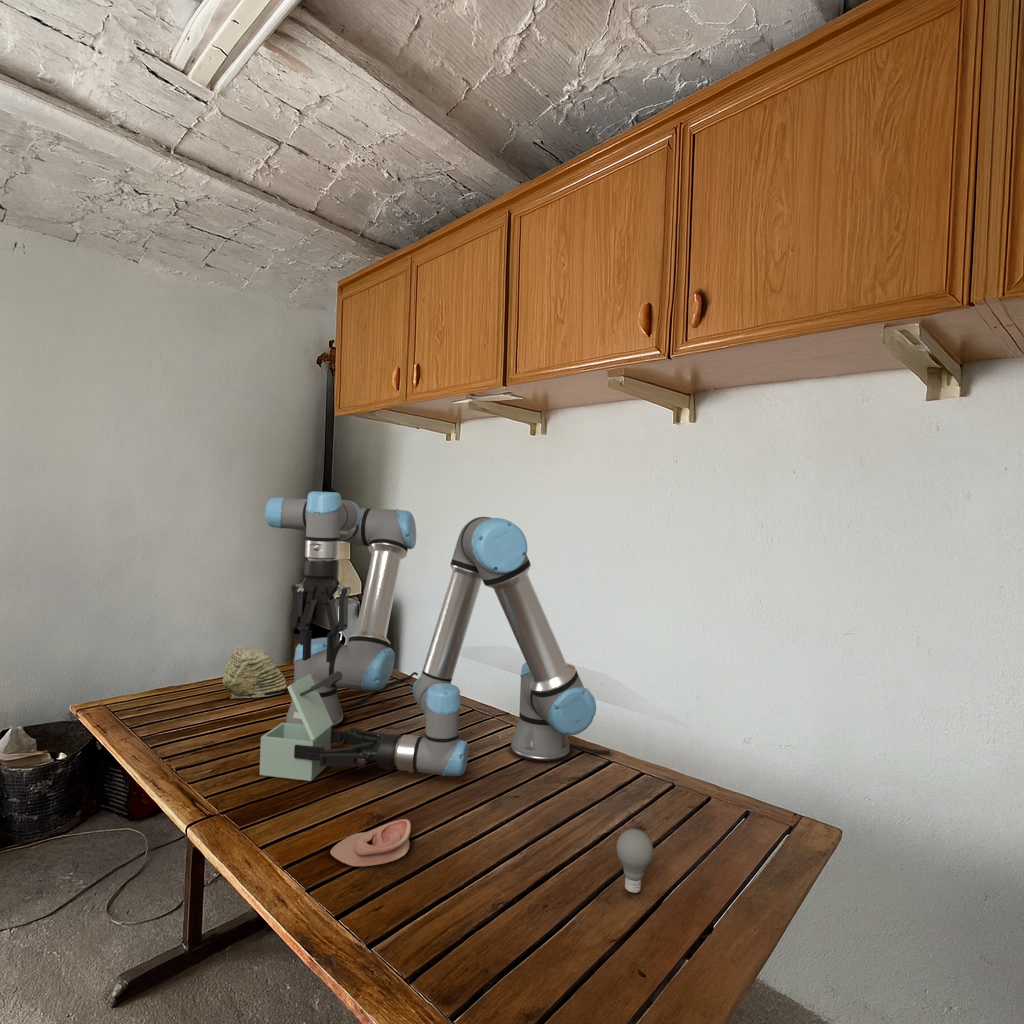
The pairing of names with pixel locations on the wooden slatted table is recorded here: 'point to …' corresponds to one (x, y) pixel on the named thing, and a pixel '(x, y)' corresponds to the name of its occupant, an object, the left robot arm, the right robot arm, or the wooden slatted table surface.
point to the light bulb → (634, 857)
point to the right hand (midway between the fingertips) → (305, 742)
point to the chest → (290, 752)
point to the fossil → (252, 674)
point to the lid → (312, 703)
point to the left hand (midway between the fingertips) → (318, 659)
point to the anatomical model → (374, 845)
